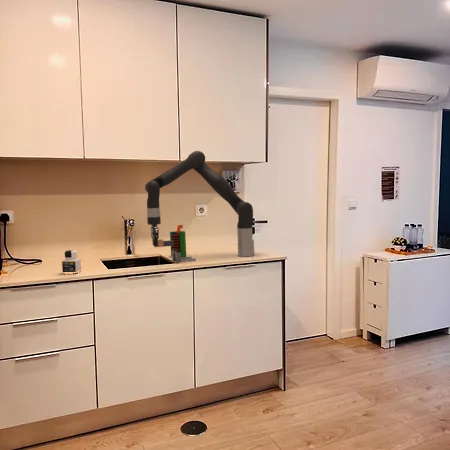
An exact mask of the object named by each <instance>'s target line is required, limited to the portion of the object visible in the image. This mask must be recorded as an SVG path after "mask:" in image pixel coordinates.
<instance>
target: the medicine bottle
mask: <svg viewBox="0 0 450 450" xmlns="http://www.w3.org/2000/svg"><path fill="white" fill-rule="evenodd" d="M81 261H82V260H81V258H78V251H77V250H74V249H72V250H71V249H70V250H69V249H68V250H66V251H64V260H62V261H61V266H62V267H61V268H62V269H61V270H62V273H63V272H77V271H79V270H81V271H82V264H81Z"/></svg>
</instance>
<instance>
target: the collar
mask: <svg viewBox="0 0 450 450" xmlns="http://www.w3.org/2000/svg"><path fill="white" fill-rule="evenodd" d="M171 259H172V261H175V263H176V264H181V263H188V262H187V261H189V262H196V258H195V257H193V256H186V257H181V252H179V251H177V250H172V257H171ZM180 262H181V263H180Z"/></svg>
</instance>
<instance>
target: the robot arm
mask: <svg viewBox="0 0 450 450" xmlns="http://www.w3.org/2000/svg"><path fill="white" fill-rule="evenodd" d="M205 161H206V155H205V154H204V153H203V151H200V150H194V151H193V152H191V153H190V154H188V156H187V158H186V159H184V160H183V161H182V162H180V163H178V164H175V166H172V167H171V168H169V169H168V170H166V171H164V172H163V173H161V174H159V175H158V176H157V177H155V178H153V179H151V180H149V181H148V182H146V184H145V185H144V190H145V191H146V192H147V200H146V219H147V220H146V221H147V225H150V226H151V227H150V236H151V237H150V238H151V239H152V240H151V241H152V246H153V247H154V246H158V239H159V234H160V232H159V227H158V225H161V223H162V221H161V210H160V209H161V208H160V192H161V191H160V190H161V188H163V187H166V186H168V185H169V184H171V183H173V182H175V181H176V180H177V179H178V178H179V179H180V177H182V176H183V175H184V174H186V173H187V172H189V171H191V170H194V171H195V172H196V173H198V175H200V176H201V177H202V178H203V180H204V181H205V182H207V184H208V185H209V186H210V188H212V190H214V191H215V192H216V193H217V195H219V197H221V198H222V199H223V200H224V201H226V202H227V203H228V204H229V206H230V207H231V208H232V209H233V211H234V212H235V213H236V215H238V218H237V219H238V220H237V221H238V222H237V223H236V224H237V226H236V229H237V257H252V256H255V241H254V238H253V224H254V207H253V205H252V204H251V203H250V202H247V201H244V200H243V199H242V198H241V197H239V195H237V194H236V192H235V190H234V189H233V187H232V186H231V184H230V183H229V182H228V181H227V179H226V178H225V177H223V175H221V174H220V173H218V172H217V171H215V170H214V169H212V168H211V167H210V166H209V165H208V164H207V163H206V162H205ZM153 240H154V241H153Z"/></svg>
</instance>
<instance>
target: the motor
mask: <svg viewBox="0 0 450 450" xmlns="http://www.w3.org/2000/svg"><path fill="white" fill-rule="evenodd" d="M183 226H184V225H183V224H177V227H176V231H170V232H169V237H170V238H169V239H170V240H173V244H174V246H170V257H171V258H172V250H177V251H179V252H181V257H187V242H186V241H187V240H186V238H187V237H186V231H184V230H183V231H182V230H181V229H183Z"/></svg>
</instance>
